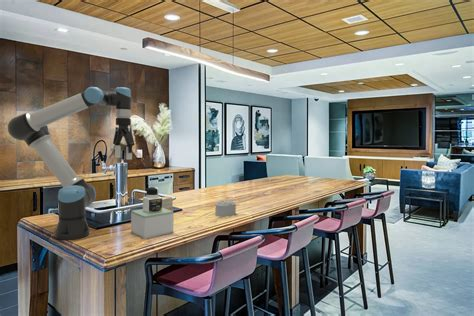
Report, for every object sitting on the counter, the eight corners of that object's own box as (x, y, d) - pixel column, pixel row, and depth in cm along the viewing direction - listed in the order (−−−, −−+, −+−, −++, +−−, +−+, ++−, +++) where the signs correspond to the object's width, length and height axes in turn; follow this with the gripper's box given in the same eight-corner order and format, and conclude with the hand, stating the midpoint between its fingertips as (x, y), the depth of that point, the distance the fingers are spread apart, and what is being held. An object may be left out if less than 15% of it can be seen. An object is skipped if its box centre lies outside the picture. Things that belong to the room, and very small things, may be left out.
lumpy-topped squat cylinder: (237, 214, 214) (238, 201, 214) (222, 218, 205) (222, 203, 205) (226, 211, 222) (226, 198, 221) (211, 214, 213) (211, 201, 212)
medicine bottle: (148, 213, 166) (149, 189, 165) (142, 210, 172) (142, 187, 171) (162, 211, 171) (162, 188, 170) (155, 208, 176) (155, 186, 175)
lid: (144, 218, 161) (144, 216, 161) (131, 212, 171) (131, 210, 171) (173, 213, 172) (173, 211, 172) (159, 208, 182) (159, 206, 182)
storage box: (144, 239, 162) (144, 218, 161) (131, 232, 172) (131, 212, 171) (173, 232, 173) (173, 213, 172) (159, 226, 183) (159, 208, 182)
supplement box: (167, 217, 202) (167, 196, 201) (172, 219, 199) (172, 197, 198) (156, 220, 196) (156, 198, 195) (161, 221, 193) (161, 199, 192)
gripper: (141, 117, 170) (141, 159, 171) (119, 118, 188) (120, 156, 189) (127, 117, 165) (127, 160, 166) (106, 117, 183) (106, 157, 184)
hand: (123, 158), depth 178 cm, fingers open, 13 cm apart
